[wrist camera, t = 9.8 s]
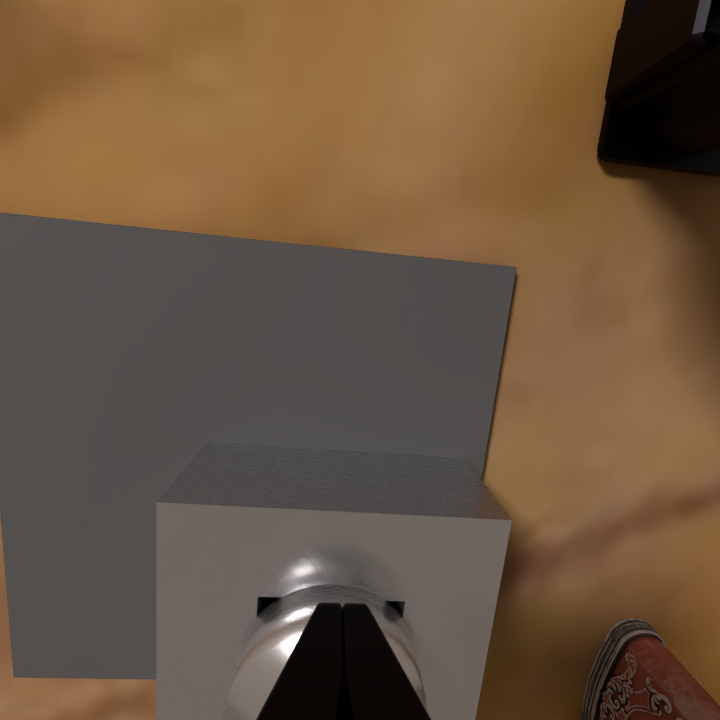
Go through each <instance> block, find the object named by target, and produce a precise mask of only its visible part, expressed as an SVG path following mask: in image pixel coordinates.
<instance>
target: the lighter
mask: <svg viewBox="0 0 720 720" xmlns="http://www.w3.org/2000/svg"><path fill="white" fill-rule="evenodd" d="M581 720H720V706H719V705H718V704H717V703H716V702H715V701H714V699H713V698H712V697H711V696H710V695H709V694H708V693H707V692H706V691H705V690H704V689H703V687H702V686H701V685H700V684H699V683H698V682H697V681H696V680H695V679H694V678H693V677H692V675H691V674H690V673H689V672H688V671H687V670H686V669H685V668H684V667H683V666H682V665H681V664H680V662H679V661H678V660H677V659H676V658H675V657H674V656H673V655H672V654H671V653H670V652H669V650H668V649H667V648H666V647H665V642H664V641H663V639H662V638H661V637H660V636H659V634H658V633H657V632H656V631H655V630H654V629H653V628H652V627H651V626H650V625H649V624H648V623H647V622H645V621H644V620H641V619H637V618H630V619H625V620H622V621H620V622H618V623H617V624H615V625H614V626H613V627H612V628H611V629H610V631H609V633H608V634H607V636H606V638H605V640H604V642H603V644H602V646H601V648H600V649H599V651H598V653H597V656H596V658H595V661H594V663H593V666H592V669H591V671H590V674H589V676H588V680H587V685H586V689H585V693H584V698H583V706H582V717H581Z"/></svg>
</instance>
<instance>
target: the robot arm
mask: <svg viewBox="0 0 720 720" xmlns="http://www.w3.org/2000/svg"><path fill="white" fill-rule="evenodd" d="M605 99H606V106H605V111H604V117H603V122H602V127H601V132H600V137H599V143H598V155H599V157H600V158H601V159H602V160H604V161H606V162H614V163H622V164H629V165H637V166H644V167H652V168H660V169H667V170H675V171H682V172H690V173H698V174H705V175H713V176H720V0H626V2H625V7H624V12H623V17H622V23H621V28H620V29H619V30H618V32H617V36H616V41H615V46H614V52H613V57H612V62H611V67H610V73H609V78H608V83H607V88H606V94H605ZM610 143H613V145H614V152H613V151H611V150H610ZM256 720H431V718H430V716H429V714H428V713H427V711H426V709H425V707H424V705H423V704H422V702H421V700H420V698H419V696H418V695H417V693H416V691H415V689H414V687H413V686H412V684H411V682H410V680H409V678H408V677H407V675H406V673H405V671H404V669H403V668H402V666H401V664H400V662H399V661H398V659H397V657H396V655H395V653H394V652H393V650H392V648H391V646H390V644H389V643H388V641H387V639H386V637H385V635H384V634H383V632H382V630H381V628H380V626H379V625H378V623H377V621H376V619H375V617H374V616H373V614H372V612H371V610H370V608H369V607H368V606H367V605H366V604H365V603H345V604H344V605H343V607H342V605H341V604H340V603H333V602H320V603H319V604H318V605H317V606H316V607H315V609H314V611H313V613H312V615H311V617H310V619H309V621H308V623H307V624H306V626H305V628H304V630H303V632H302V634H301V636H300V638H299V639H298V641H297V643H296V645H295V647H294V649H293V651H292V653H291V655H290V656H289V658H288V660H287V662H286V664H285V666H284V668H283V670H282V672H281V673H280V675H279V677H278V679H277V681H276V683H275V685H274V687H273V688H272V690H271V692H270V694H269V696H268V698H267V700H266V702H265V704H264V705H263V707H262V709H261V711H260V713H259V715H258V717H257V719H256Z"/></svg>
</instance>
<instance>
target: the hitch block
mask: <svg viewBox="0 0 720 720" xmlns="http://www.w3.org/2000/svg"><path fill="white" fill-rule="evenodd" d="M511 523H512V520H511V518H510V517H509V516H508V514H507V513H506V512H505V510H504V509H503V508H502V506H501V505H500V504H499V503H498V501H497V500H496V499H495V497H494V496H493V495H492V493H491V492H490V491H489V489H488V488H487V487H486V485H485V484H484V483H483V481H482V480H481V479H480V478H479V476H478V475H477V474H476V472H475V471H474V470H473V468H472V467H471V466H470V464H469V463H468V462H467V460H466V459H465V458H458V457H442V456H427V455H411V454H395V453H379V452H363V451H348V450H332V449H316V448H300V447H285V446H269V445H253V444H237V443H222V442H206V443H205V444H204V446H203V447H202V448H201V449H200V450H199V452H198V453H197V454H196V455H195V456H194V458H193V459H192V460H191V461H190V462H189V464H188V465H187V466H186V467H185V468H184V470H183V471H182V472H181V473H180V474H179V476H178V477H177V478H176V479H175V481H174V482H173V483H172V484H171V485H170V487H169V488H168V489H167V490H166V491H165V493H164V494H163V495H162V496H161V497H160V499H159V500H158V501H157V502H156V720H223V716H224V709H225V705H226V701H227V698H228V694H229V690H230V686H231V682H232V678H233V675H234V671H235V667H236V663H237V659H238V655H239V652H240V648H241V645H242V641H243V638H244V636H245V634H246V632H247V630H248V628H249V627H250V625H251V624H252V622H253V621H254V620H255V619H256V617H257V616H258V615H259V614H260V613H261V612H262V611H263V610H264V609H265V608H267V607H268V606H269V605H270V604H272V603H273V597H283V596H285V595H287V594H289V593H292V592H294V591H297V590H300V589H303V588H307V587H311V586H319V585H345V586H351V587H356V588H360V589H363V590H366V591H368V592H371V593H373V594H375V595H377V596H379V597H381V598H382V599H384V600H385V601H387V602H388V603H389V604H390V605H391V606H393V607H394V608H395V609H396V610H397V611H398V612H399V614H400V615H401V616H402V617H403V619H404V620H405V622H406V624H407V625H408V627H409V630H410V632H411V634H412V638H413V642H414V647H415V651H416V656H417V660H418V665H419V669H420V674H421V678H422V683H423V687H424V692H425V696H426V701H427V713H428V714H429V716H430V718H431V720H475V718H476V713H477V707H478V702H479V696H480V691H481V686H482V680H483V675H484V669H485V664H486V658H487V653H488V648H489V642H490V637H491V631H492V626H493V620H494V615H495V610H496V604H497V599H498V593H499V588H500V582H501V577H502V572H503V566H504V561H505V555H506V550H507V544H508V539H509V534H510V528H511Z"/></svg>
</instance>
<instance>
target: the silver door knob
mask: <svg viewBox="0 0 720 720" xmlns="http://www.w3.org/2000/svg"><path fill="white" fill-rule="evenodd" d="M320 602H333V603H340V604H341V605H342V607H343V605H344V604H345V603H365V604H366V605H367V606H368V607H369V608H370V610H371V612H372V614H373V616H374V617H375V619H376V621H377V623H378V625H379V626H380V628H381V630H382V632H383V634H384V635H385V637H386V639H387V641H388V643H389V644H390V646H391V648H392V650H393V652H394V653H395V655H396V657H397V659H398V661H399V662H400V664H401V666H402V668H403V669H404V671H405V673H406V675H407V677H408V678H409V680H410V682H411V684H412V686H413V687H414V689H415V691H416V693H417V695H418V696H419V698H420V700H421V702H422V704H423V705H424V707H425V709H426V711H427V701H426V696H425V692H424V687H423V683H422V678H421V674H420V669H419V665H418V660H417V656H416V651H415V647H414V642H413V638H412V634H411V632H410V630H409V627H408V625H407V624H406V622H405V620H404V619H403V617H402V616H401V615H400V614H399V612H398V611H397V610H396V609H395V608H394V607H393V606H391V605H390V604H389V603H388V602H387V601H385V600H384V599H382V598H381V597H379V596H377V595H375V594H373V593H371V592H368V591H366V590H363V589H360V588H356V587H351V586H345V585H319V586H311V587H307V588H303V589H300V590H297V591H294V592H292V593H289V594H287V595H285V596H283V597H281V598H279V599H278V600H276V601H275V602H273V603H272V604H270V605H269V606H268V607H267V608H265V609H264V610H263V611H262V612H261V613H260V614H259V615H258V616H257V617H256V619H255V620H254V621H253V622H252V624H251V625H250V627H249V628H248V630H247V632H246V634H245V636H244V638H243V641H242V645H241V648H240V652H239V655H238V659H237V663H236V667H235V671H234V675H233V678H232V682H231V686H230V690H229V694H228V698H227V701H226V705H225V709H224V716H223V720H256V719H257V717H258V715H259V713H260V711H261V709H262V707H263V705H264V704H265V702H266V700H267V698H268V696H269V694H270V692H271V690H272V688H273V687H274V685H275V683H276V681H277V679H278V677H279V675H280V673H281V672H282V670H283V668H284V666H285V664H286V662H287V660H288V658H289V656H290V655H291V653H292V651H293V649H294V647H295V645H296V643H297V641H298V639H299V638H300V636H301V634H302V632H303V630H304V628H305V626H306V624H307V623H308V621H309V619H310V617H311V615H312V613H313V611H314V609H315V607H316V606H317V605H318V604H319V603H320Z"/></svg>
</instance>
